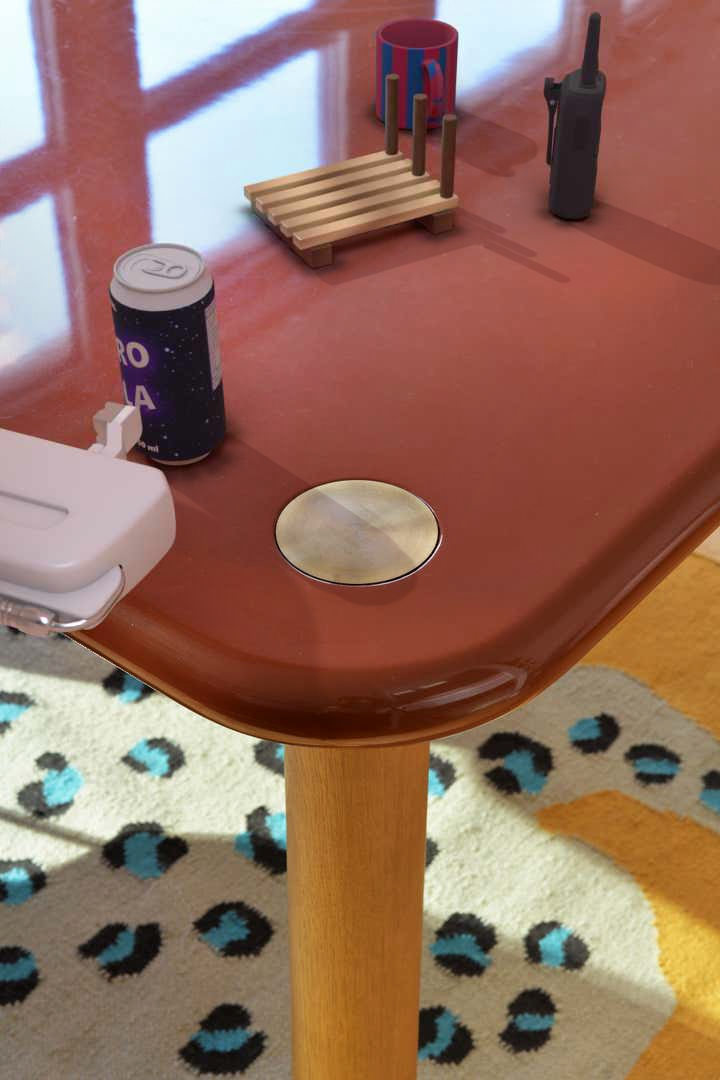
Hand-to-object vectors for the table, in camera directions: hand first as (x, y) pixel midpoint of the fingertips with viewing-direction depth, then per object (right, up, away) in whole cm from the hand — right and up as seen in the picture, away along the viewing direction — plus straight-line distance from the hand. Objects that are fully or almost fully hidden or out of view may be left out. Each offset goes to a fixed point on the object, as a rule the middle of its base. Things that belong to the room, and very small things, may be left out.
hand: (40, 394), depth 65 cm
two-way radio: (+30, +18, +38) cm, 52 cm away
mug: (+20, +28, +49) cm, 60 cm away
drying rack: (+14, +17, +37) cm, 43 cm away
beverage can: (+4, -1, +16) cm, 17 cm away
